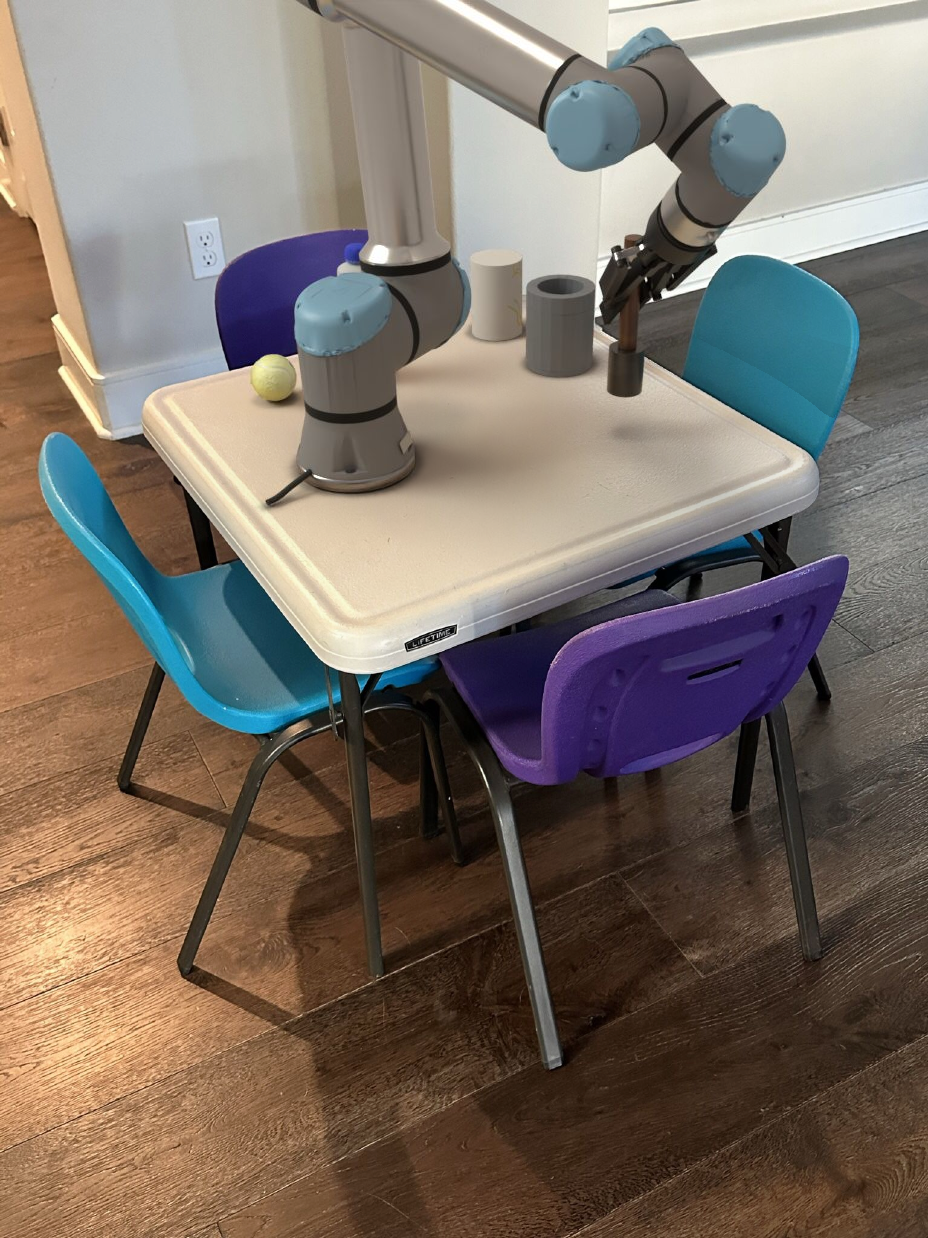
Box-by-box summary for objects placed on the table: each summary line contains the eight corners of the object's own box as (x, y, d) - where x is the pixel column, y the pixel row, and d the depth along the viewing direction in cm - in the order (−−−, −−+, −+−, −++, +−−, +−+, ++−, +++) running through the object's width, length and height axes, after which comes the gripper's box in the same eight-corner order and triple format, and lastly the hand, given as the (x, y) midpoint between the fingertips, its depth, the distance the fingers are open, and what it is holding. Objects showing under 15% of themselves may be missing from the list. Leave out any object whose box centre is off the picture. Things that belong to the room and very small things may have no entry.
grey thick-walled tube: (562, 382, 166) (564, 303, 159) (512, 364, 171) (512, 287, 164) (605, 362, 171) (609, 284, 164) (556, 345, 177) (557, 269, 170)
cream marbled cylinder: (522, 340, 179) (522, 265, 172) (471, 341, 179) (469, 266, 172) (521, 321, 186) (521, 248, 179) (472, 322, 186) (470, 249, 179)
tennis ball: (301, 406, 162) (295, 362, 158) (254, 411, 161) (247, 367, 157) (297, 387, 167) (292, 344, 163) (252, 392, 166) (245, 349, 162)
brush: (627, 400, 145) (637, 245, 134) (599, 390, 148) (607, 237, 136) (649, 389, 148) (661, 236, 136) (621, 379, 151) (631, 228, 139)
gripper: (636, 258, 121) (568, 349, 143) (762, 240, 125) (676, 330, 147) (617, 194, 122) (552, 294, 144) (743, 178, 126) (660, 278, 148)
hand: (615, 312), depth 146 cm, fingers closed on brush, 2 cm apart
